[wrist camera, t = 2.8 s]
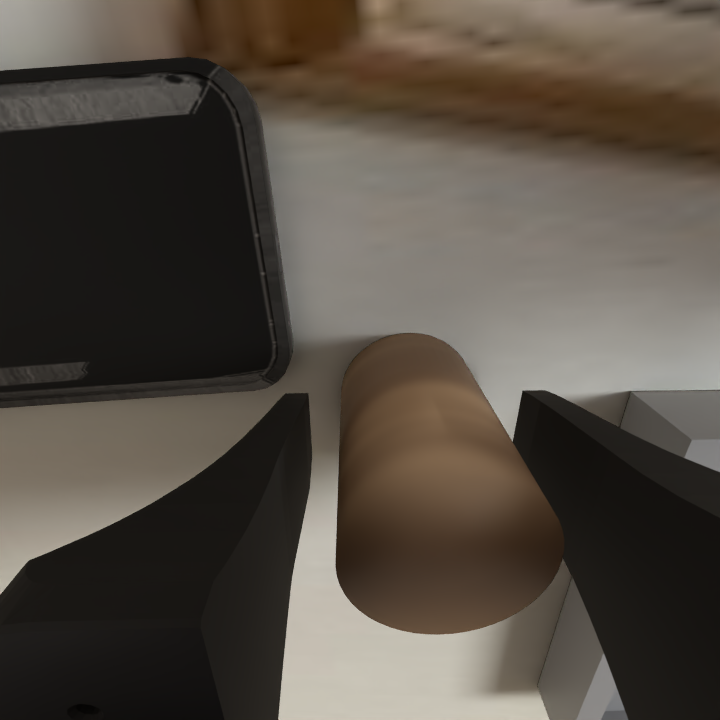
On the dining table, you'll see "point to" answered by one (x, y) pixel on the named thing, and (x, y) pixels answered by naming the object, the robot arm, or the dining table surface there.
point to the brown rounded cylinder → (434, 496)
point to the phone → (136, 235)
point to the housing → (574, 628)
